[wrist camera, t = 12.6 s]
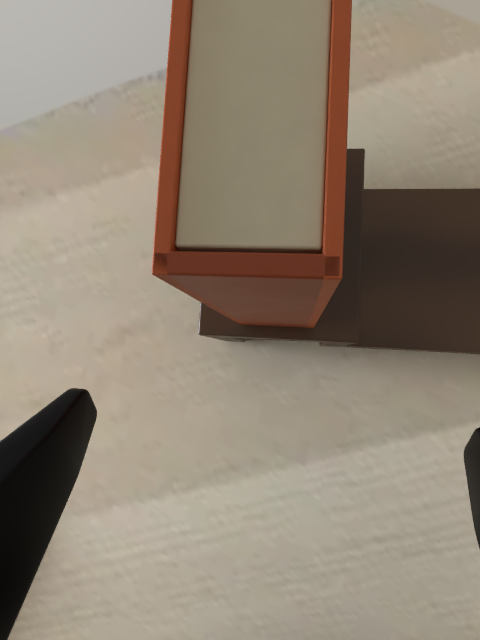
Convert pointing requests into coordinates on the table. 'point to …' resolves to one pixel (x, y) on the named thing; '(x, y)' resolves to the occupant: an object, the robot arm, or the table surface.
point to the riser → (393, 274)
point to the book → (255, 157)
